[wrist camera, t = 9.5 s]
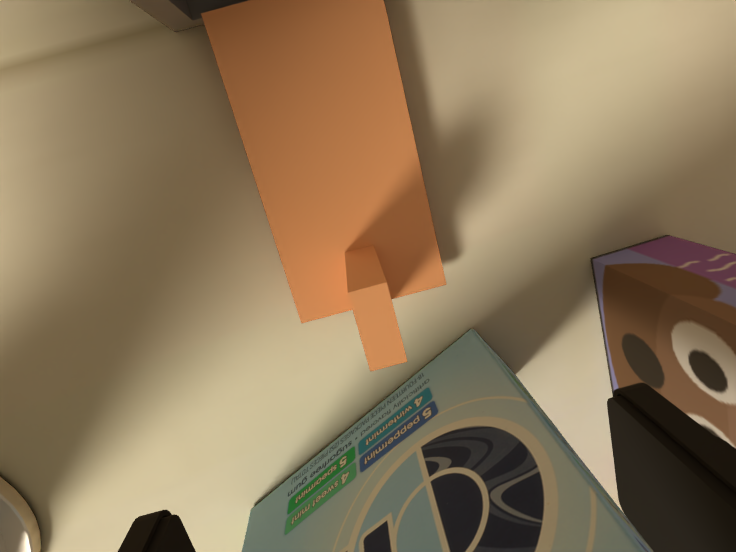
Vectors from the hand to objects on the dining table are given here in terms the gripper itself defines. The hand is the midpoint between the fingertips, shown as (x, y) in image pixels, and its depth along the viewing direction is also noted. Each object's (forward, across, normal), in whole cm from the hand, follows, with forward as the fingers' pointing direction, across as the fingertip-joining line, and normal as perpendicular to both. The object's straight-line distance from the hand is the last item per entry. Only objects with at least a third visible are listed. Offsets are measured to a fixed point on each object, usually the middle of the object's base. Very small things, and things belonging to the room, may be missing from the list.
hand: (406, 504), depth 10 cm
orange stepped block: (+17, 0, -6) cm, 18 cm away
